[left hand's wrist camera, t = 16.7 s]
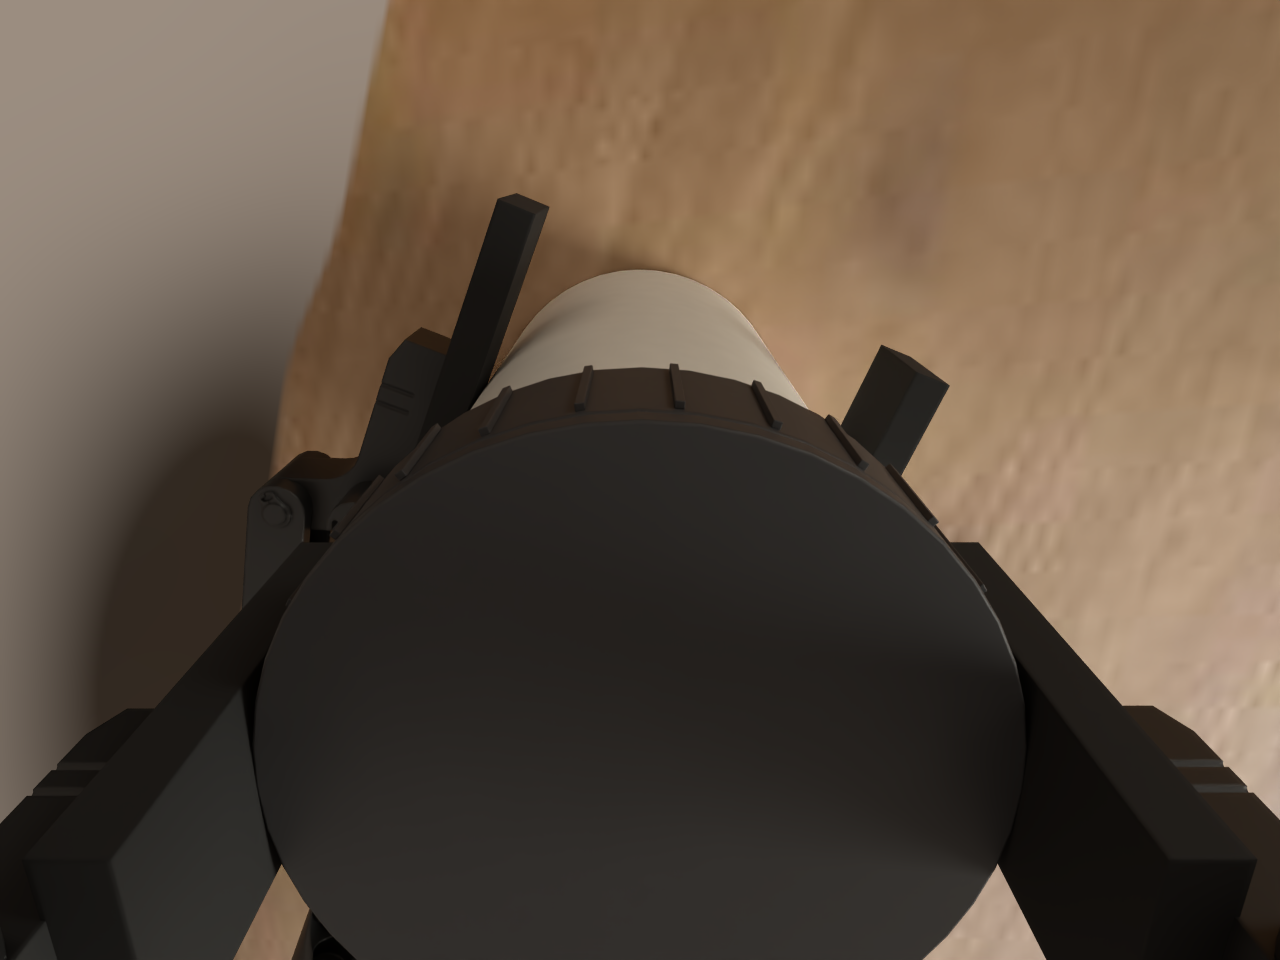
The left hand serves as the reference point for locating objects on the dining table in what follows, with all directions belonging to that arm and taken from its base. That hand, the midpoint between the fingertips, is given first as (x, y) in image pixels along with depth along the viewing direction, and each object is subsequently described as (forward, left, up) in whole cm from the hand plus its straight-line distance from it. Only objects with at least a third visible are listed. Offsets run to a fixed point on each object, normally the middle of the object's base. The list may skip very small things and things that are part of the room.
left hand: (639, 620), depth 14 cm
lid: (0, 0, +4) cm, 4 cm away
